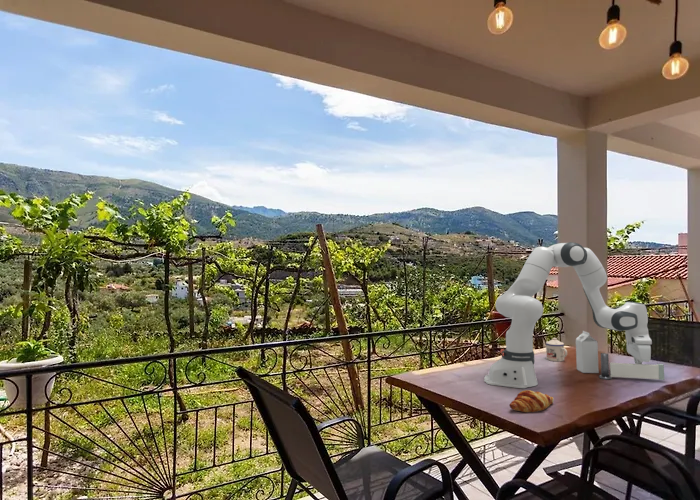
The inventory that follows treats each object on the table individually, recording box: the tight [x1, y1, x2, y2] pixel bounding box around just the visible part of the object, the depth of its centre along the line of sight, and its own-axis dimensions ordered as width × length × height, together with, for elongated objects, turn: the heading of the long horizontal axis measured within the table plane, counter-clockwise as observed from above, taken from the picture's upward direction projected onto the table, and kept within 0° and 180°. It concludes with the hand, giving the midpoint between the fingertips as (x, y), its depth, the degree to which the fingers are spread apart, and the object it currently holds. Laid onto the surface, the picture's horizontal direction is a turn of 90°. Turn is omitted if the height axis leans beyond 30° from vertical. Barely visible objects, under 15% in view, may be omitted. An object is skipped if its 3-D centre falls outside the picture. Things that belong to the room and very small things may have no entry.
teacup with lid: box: [545, 337, 568, 362], centre depth 226 cm, size 12×9×12 cm
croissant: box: [509, 389, 554, 413], centre depth 156 cm, size 21×10×8 cm, turn 115°
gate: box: [609, 362, 665, 381], centre depth 187 cm, size 20×2×6 cm, turn 72°
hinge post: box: [598, 352, 613, 381], centre depth 191 cm, size 5×5×11 cm
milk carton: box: [575, 330, 600, 374], centre depth 203 cm, size 7×7×19 cm
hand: (638, 367), depth 193 cm, fingers closed
